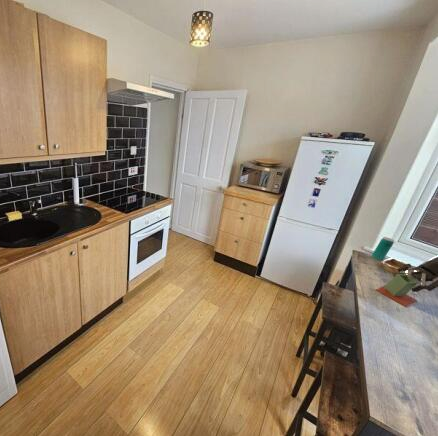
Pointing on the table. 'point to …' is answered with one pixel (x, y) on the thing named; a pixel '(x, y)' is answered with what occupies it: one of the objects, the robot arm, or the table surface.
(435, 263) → the robot arm
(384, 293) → the mat
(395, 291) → the green basket
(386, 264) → the rattan basket
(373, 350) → the table surface
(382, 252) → the beverage can
